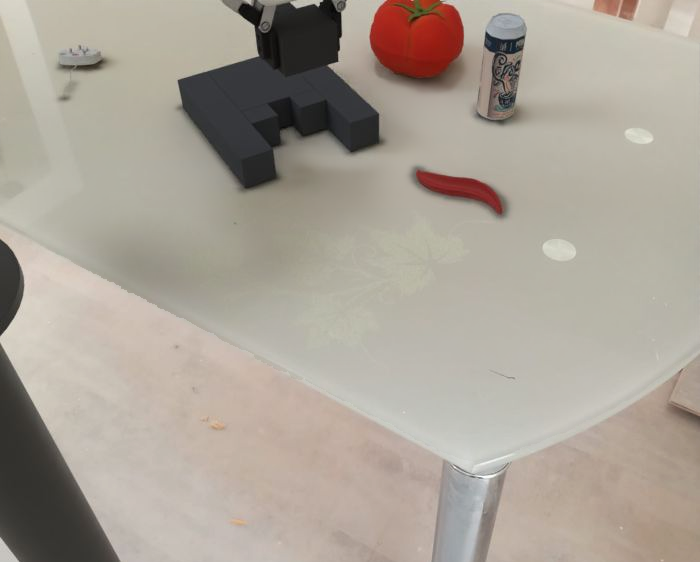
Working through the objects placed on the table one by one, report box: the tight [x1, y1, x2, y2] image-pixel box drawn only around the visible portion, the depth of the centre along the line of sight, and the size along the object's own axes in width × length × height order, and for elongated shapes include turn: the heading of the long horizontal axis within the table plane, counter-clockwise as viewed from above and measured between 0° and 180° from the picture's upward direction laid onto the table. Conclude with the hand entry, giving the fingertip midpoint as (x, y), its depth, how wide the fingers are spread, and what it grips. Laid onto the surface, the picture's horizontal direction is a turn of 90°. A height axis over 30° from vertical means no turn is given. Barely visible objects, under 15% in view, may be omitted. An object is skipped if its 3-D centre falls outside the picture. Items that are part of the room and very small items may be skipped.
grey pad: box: [177, 55, 380, 189], centre depth 96 cm, size 18×20×4 cm
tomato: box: [368, 0, 465, 79], centre depth 103 cm, size 14×13×9 cm
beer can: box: [476, 12, 528, 121], centre depth 94 cm, size 5×5×12 cm
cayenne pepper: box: [415, 169, 503, 215], centre depth 88 cm, size 12×5×2 cm, turn 42°
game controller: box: [57, 44, 103, 99], centre depth 106 cm, size 6×12×3 cm, turn 16°
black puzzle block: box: [272, 2, 340, 77], centre depth 78 cm, size 6×7×4 cm
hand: (300, 53), depth 79 cm, fingers closed on black puzzle block, 6 cm apart
